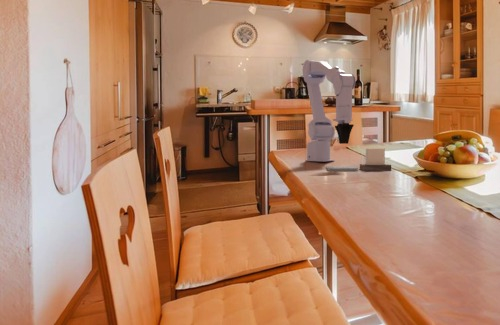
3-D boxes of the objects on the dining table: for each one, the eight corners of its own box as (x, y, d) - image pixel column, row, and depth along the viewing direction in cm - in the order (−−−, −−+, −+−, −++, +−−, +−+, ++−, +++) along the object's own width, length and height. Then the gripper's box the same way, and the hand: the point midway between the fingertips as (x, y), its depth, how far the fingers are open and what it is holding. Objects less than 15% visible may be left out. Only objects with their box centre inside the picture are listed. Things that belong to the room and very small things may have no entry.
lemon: (436, 170, 115) (436, 147, 115) (419, 170, 116) (419, 148, 116) (431, 169, 121) (431, 147, 120) (414, 169, 122) (415, 147, 121)
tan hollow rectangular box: (359, 169, 126) (359, 164, 126) (385, 169, 125) (385, 163, 125) (363, 170, 120) (363, 165, 119) (391, 170, 119) (391, 164, 118)
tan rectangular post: (365, 169, 124) (365, 148, 123) (381, 169, 124) (381, 148, 123) (368, 170, 121) (368, 148, 120) (384, 170, 121) (384, 148, 120)
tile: (329, 171, 119) (329, 168, 119) (325, 169, 129) (325, 166, 129) (357, 171, 118) (357, 168, 118) (352, 168, 128) (352, 166, 128)
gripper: (330, 109, 130) (330, 143, 130) (336, 105, 115) (336, 143, 116) (348, 108, 129) (348, 143, 130) (356, 104, 114) (356, 143, 115)
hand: (343, 143), depth 123 cm, fingers open, 4 cm apart
